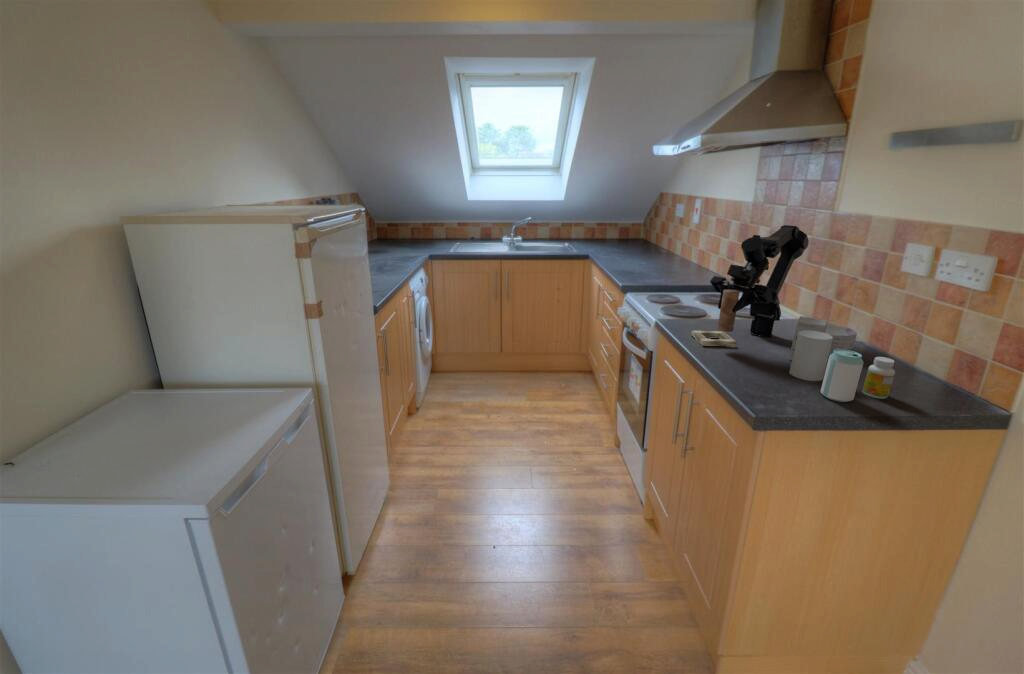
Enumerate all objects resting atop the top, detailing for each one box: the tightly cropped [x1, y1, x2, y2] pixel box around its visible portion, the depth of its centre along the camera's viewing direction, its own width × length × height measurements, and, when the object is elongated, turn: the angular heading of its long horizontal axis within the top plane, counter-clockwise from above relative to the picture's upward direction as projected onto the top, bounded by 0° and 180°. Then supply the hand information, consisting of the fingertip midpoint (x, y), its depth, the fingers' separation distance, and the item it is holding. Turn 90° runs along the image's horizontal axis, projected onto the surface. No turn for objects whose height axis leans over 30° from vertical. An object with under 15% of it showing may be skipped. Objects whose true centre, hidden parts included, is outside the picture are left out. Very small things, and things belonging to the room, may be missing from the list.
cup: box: [789, 330, 833, 382], centre depth 131 cm, size 8×8×12 cm
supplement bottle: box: [862, 356, 896, 400], centre depth 120 cm, size 5×5×10 cm
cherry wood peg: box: [717, 289, 741, 333], centre depth 149 cm, size 5×5×12 cm
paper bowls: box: [824, 323, 858, 357], centre depth 151 cm, size 15×15×8 cm
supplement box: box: [788, 316, 828, 361], centre depth 143 cm, size 7×7×13 cm
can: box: [820, 349, 864, 403], centre depth 118 cm, size 7×7×12 cm
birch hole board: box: [690, 330, 737, 348], centre depth 159 cm, size 11×11×2 cm
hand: (725, 310), depth 148 cm, fingers closed on cherry wood peg, 5 cm apart
